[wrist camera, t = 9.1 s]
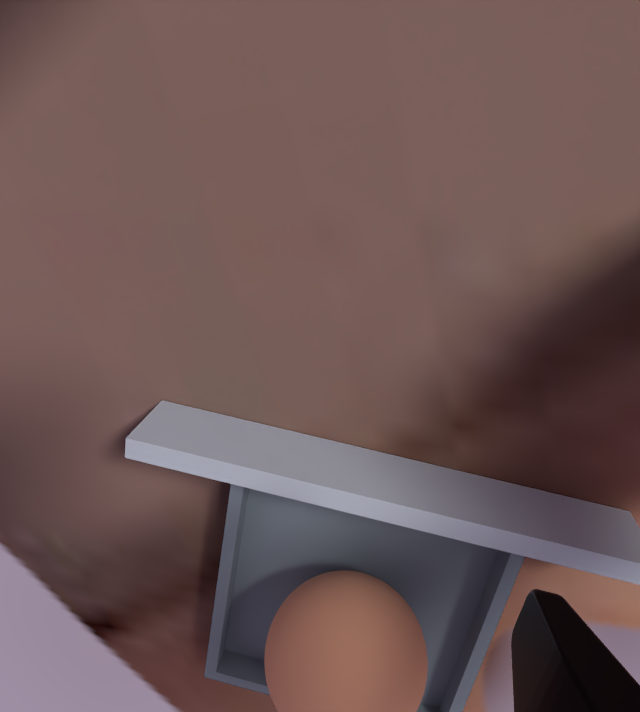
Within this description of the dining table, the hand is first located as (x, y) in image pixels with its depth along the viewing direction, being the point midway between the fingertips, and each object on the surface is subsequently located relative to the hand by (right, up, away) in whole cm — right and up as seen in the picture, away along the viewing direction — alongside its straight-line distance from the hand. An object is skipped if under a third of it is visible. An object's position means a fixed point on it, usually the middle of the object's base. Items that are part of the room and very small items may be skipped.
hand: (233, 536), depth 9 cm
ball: (+3, -7, +15) cm, 17 cm away
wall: (+4, -1, +13) cm, 13 cm away
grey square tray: (+3, -7, +15) cm, 17 cm away
